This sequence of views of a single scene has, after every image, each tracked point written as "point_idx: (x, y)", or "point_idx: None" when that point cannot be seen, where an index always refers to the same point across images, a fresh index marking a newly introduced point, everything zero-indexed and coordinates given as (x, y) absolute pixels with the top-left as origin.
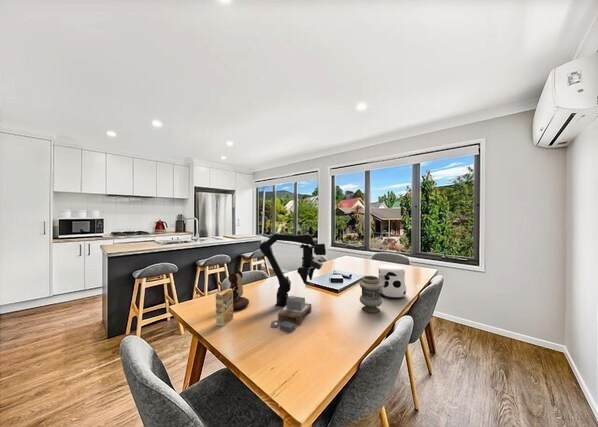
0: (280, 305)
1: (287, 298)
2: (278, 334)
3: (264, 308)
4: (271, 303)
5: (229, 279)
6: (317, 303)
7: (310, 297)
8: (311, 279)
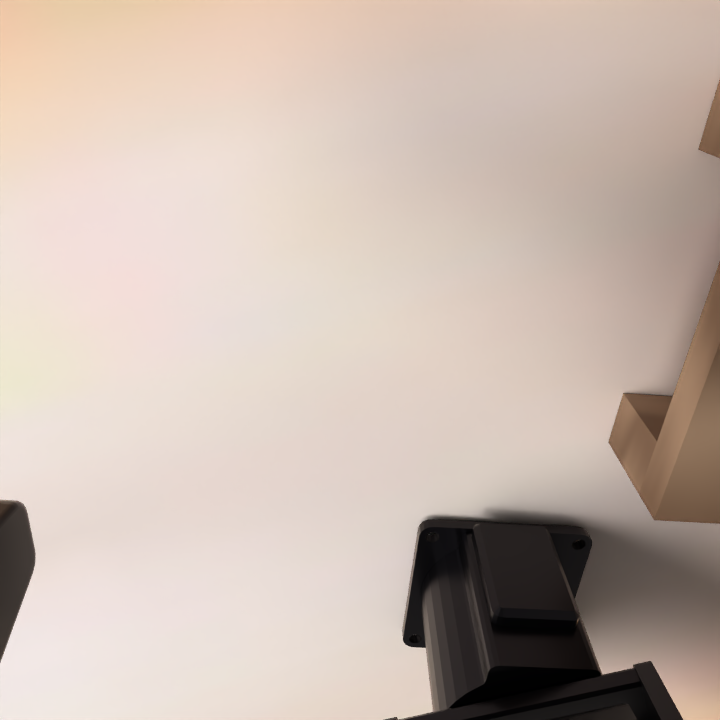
0: (574, 592)
1: (565, 602)
2: None
3: None
4: None
5: None
6: (282, 45)
7: (26, 279)
8: (15, 509)
